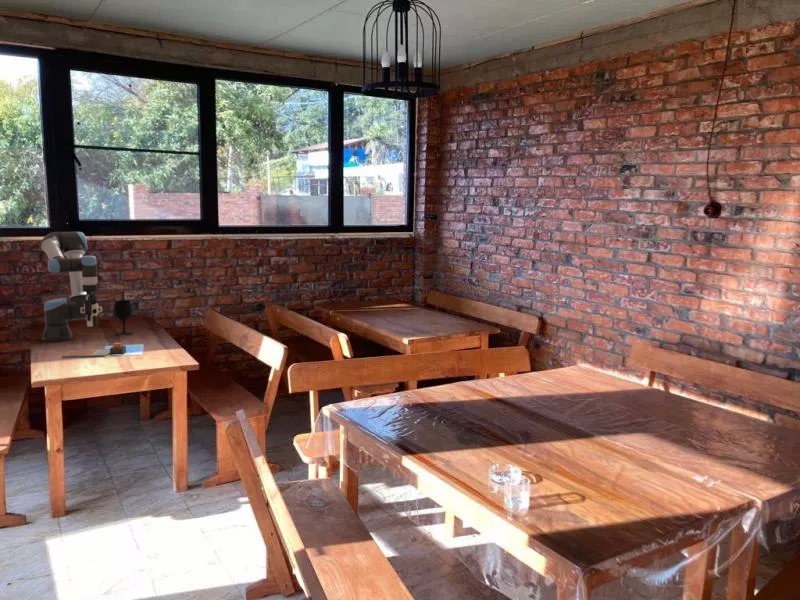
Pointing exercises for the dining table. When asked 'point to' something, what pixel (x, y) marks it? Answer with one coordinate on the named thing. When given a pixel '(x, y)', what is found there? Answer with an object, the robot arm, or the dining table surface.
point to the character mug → (93, 313)
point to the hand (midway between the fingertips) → (92, 324)
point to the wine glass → (123, 314)
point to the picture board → (87, 353)
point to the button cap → (117, 345)
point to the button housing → (117, 350)
